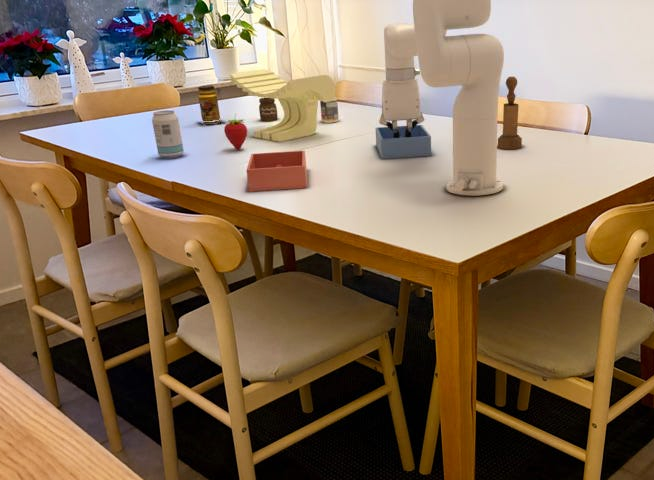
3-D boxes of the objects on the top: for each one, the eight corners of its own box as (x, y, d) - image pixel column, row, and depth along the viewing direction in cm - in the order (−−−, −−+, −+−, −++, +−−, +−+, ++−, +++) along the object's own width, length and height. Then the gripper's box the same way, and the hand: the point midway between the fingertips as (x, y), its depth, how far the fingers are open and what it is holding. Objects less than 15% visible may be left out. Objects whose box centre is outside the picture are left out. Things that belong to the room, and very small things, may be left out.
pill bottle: (319, 121, 248) (316, 90, 243) (335, 119, 250) (332, 88, 245) (325, 123, 243) (322, 92, 239) (341, 121, 245) (339, 90, 241)
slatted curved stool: (338, 135, 224) (333, 73, 216) (296, 145, 214) (290, 80, 206) (278, 125, 243) (272, 68, 235) (238, 133, 234) (230, 73, 225)
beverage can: (189, 154, 209) (181, 110, 203) (176, 159, 203) (168, 114, 198) (167, 153, 211) (159, 110, 205) (154, 159, 205) (145, 114, 199)
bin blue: (431, 155, 195) (431, 136, 193) (381, 158, 194) (380, 139, 192) (422, 142, 211) (421, 124, 208) (376, 145, 209) (375, 127, 207)
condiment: (204, 126, 248) (198, 88, 243) (197, 122, 255) (192, 85, 249) (225, 123, 251) (220, 86, 246) (218, 120, 258) (213, 83, 252)
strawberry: (239, 146, 216) (234, 110, 211) (254, 149, 211) (249, 113, 207) (222, 149, 212) (217, 113, 208) (237, 153, 208) (232, 116, 203)
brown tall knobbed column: (520, 149, 198) (523, 78, 189) (496, 149, 199) (498, 78, 191) (522, 144, 203) (524, 74, 195) (498, 144, 205) (500, 75, 196)
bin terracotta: (306, 187, 171) (304, 166, 169) (249, 191, 170) (246, 169, 168) (306, 170, 186) (304, 150, 184) (254, 173, 185) (251, 153, 183)
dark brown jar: (259, 119, 256) (254, 82, 250) (277, 117, 257) (273, 81, 252) (261, 122, 251) (257, 84, 245) (280, 120, 252) (275, 83, 247)
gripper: (428, 71, 197) (429, 141, 206) (368, 74, 196) (372, 145, 205) (432, 75, 191) (433, 147, 199) (371, 78, 189) (374, 151, 198)
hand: (402, 145), depth 202 cm, fingers closed
